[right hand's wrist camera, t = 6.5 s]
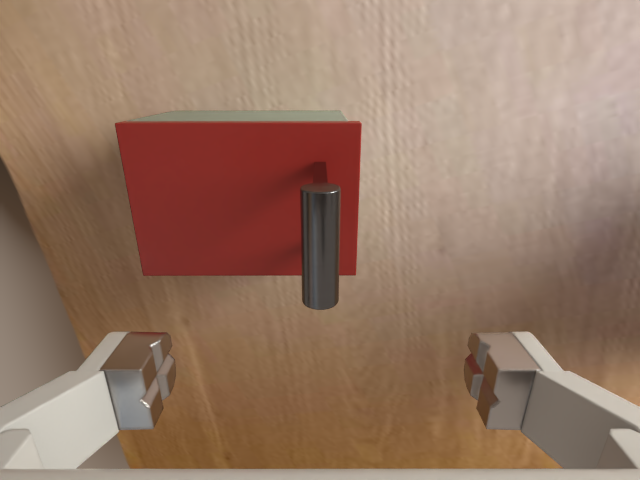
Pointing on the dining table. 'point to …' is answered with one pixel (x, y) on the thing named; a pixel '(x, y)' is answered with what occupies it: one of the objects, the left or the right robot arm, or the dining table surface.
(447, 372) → the dining table surface
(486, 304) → the dining table surface
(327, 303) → the lid
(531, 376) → the right robot arm
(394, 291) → the dining table surface
